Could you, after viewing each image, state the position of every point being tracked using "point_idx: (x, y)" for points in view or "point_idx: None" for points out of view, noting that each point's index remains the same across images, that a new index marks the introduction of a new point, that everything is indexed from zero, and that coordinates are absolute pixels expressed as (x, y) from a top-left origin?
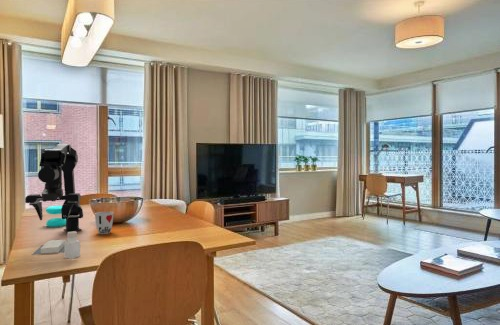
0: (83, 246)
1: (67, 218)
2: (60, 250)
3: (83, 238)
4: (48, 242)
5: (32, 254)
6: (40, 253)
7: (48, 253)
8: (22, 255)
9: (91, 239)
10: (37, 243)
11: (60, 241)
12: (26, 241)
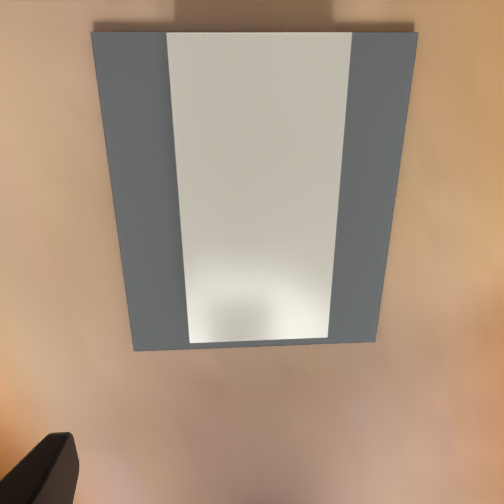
0: (23, 260)
1: (47, 451)
2: None
3: (118, 483)
4: (319, 273)
5: (409, 37)
6: None
7: None
8: (490, 71)
9: None
10: (416, 412)
11: (215, 285)
12: (491, 469)
